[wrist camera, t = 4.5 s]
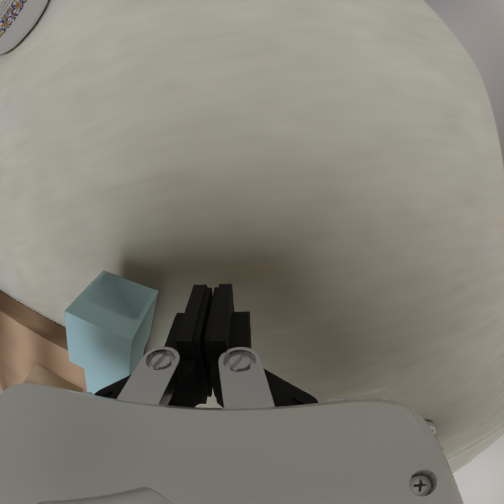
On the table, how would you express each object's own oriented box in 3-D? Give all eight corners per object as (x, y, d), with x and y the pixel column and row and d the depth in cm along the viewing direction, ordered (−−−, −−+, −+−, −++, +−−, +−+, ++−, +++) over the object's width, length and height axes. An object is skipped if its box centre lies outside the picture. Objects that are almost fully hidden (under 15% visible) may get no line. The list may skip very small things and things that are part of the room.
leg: (146, 414, 17) (134, 455, 14) (95, 394, 17) (77, 431, 13) (169, 294, 13) (146, 345, 10) (94, 266, 13) (54, 305, 9)
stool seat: (161, 367, 18) (138, 445, 12) (145, 459, 25) (135, 502, 18) (-20, 276, 15) (-65, 312, 9) (16, 397, 22) (-4, 430, 16)
